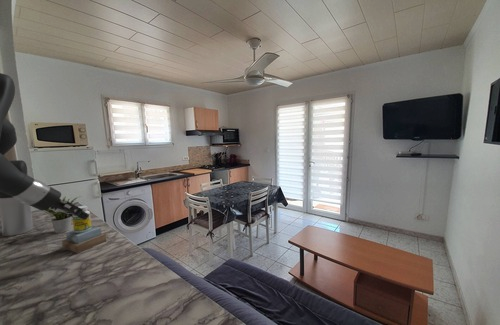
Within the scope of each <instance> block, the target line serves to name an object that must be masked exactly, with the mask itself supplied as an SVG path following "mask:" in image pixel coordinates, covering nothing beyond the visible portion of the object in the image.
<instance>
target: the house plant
mask: <svg viewBox="0 0 500 325" xmlns="http://www.w3.org/2000/svg"><path fill="white" fill-rule="evenodd" d="M78 198H82V196H76V197H75V198H73V199H72V200H71V201H70V199H71V198H68V199H67V200H66V196H64V197H62V199H61V200H65V201H67V202H70V203H71V204H73V203H74V202H76V199H78ZM44 212H45V214H51V225H52V226H53V229H54V232H55V233H56V234H60V233H66V232H69V231H71V228H72V221H73V217H71V216H69V215H67V214H65V213H62V212H57V211H55V210H52V209H50V208H49V209H47V210H44ZM42 215H44V213H43V214H42ZM52 217H53V218H52Z"/></svg>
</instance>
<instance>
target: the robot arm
mask: <svg viewBox="0 0 500 325" xmlns="http://www.w3.org/2000/svg"><path fill="white" fill-rule="evenodd" d="M15 94H16V86H15V82H14V80H13V78H12V77H11V76H10V75H8V74H4V73H0V225H1V232H2V236H3V237H12V236H17V235H22V234H25V233H28V232H31V231H32V230H33V229H34V224H33V223H34V222H33V216H32V207H33V208H34V209H36V210H39V211H41V212H42V211H45V210H47V209H51V210H53V211H55V212H56V211H57V212H62V213H65V214H67V215H69V216H71V217H72V218H73V215H74V216H78V217H80V218H82V219H84V220H86V219H87V218H88V216H89V214H87V213H85V212H83V209H81V208H79V206H77V205H76V204H73V203H70V202H71V201H69V202H67V200H66V199H65V200H62V199H61V197H62V192H61V191H60V190H58V189H55V188H54V187H52V186H50V185H48V184H46V183H45V182H43V181H40V180H38V179H35V178H34V177H31V176H29V174H28V165H27V162H25V161H24V160H9V159H8V158H7V157H6V156H5V155H6V154H7V153H8V152H9V151H10V150H11V149H13V147H14V146H16V144H17V142H18V139H17V133H16V128H15V126H14V125H13V124H12V122H11V121H10V120H9V119H7V115H8V113H9V110H10V108H11V106H12V103H13V101H14V98H15ZM75 209H76V210H77V211H76V212H75V211H74V210H75Z"/></svg>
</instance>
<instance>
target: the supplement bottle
mask: <svg viewBox="0 0 500 325" xmlns="http://www.w3.org/2000/svg"><path fill="white" fill-rule="evenodd" d="M78 207H79V208H81V209H83V212H85V213H87V214H89V216H88V218H87V219H86V220H84V219H82V218H80V217H78V216H74V215H73V217H72V224H73V230H74V232H75V233H82V232H86V231H88V230H90V229H91V225H92V219H91V218H92V217H91V212H90V210H88V206H87V205H80V206H78ZM74 211H75V212H76V211H77V210H76V209H75V210H74Z"/></svg>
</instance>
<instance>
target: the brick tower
mask: <svg viewBox="0 0 500 325" xmlns="http://www.w3.org/2000/svg"><path fill="white" fill-rule="evenodd" d="M65 236H66V239H63V240H61V241H62V249H65V250H67V251H70V252H73V253H76V254H79V253H81V252H84V251H86V250H88V249H89V250H90V248H93V247H95V246H99V245H101V244H102V243H105V242H106V241H107V237H106V236H107V235H106V233H103V232H102V228H101V227H100V226H99V227H98V226H94V225H92V224H91V229H90V230H88V231H86V232H82V233H75V232H74V229H73V230H68V231H66V232H65Z"/></svg>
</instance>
